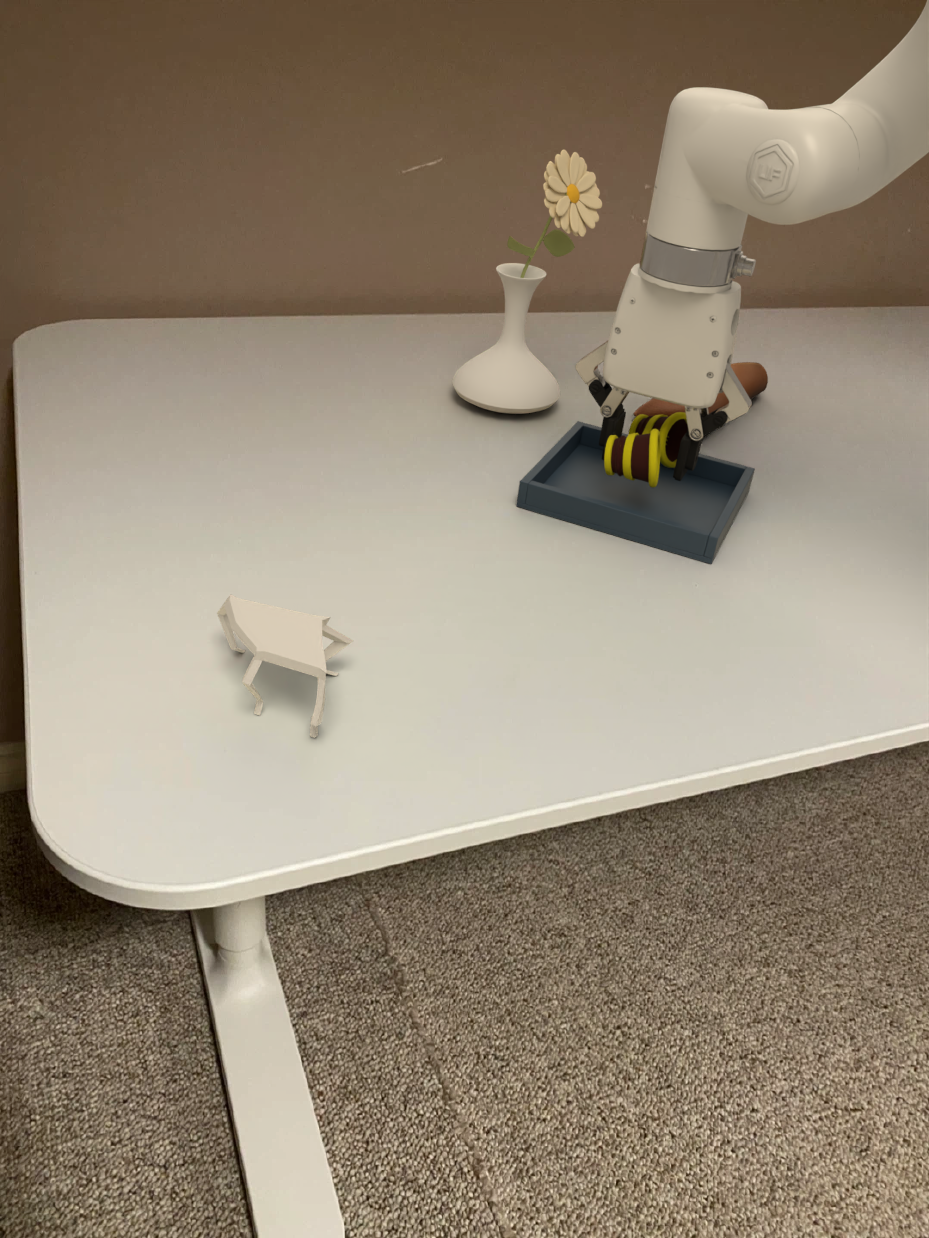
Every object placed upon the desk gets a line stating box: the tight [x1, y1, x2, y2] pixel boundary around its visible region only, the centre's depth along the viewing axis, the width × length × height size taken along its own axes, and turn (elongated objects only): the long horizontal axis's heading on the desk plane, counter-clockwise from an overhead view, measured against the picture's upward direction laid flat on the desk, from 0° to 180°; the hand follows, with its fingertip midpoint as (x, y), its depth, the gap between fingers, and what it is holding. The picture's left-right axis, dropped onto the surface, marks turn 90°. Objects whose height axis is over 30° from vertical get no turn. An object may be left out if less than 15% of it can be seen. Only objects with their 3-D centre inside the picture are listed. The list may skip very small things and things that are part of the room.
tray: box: [515, 420, 756, 565], centre depth 98 cm, size 18×16×2 cm
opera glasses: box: [604, 412, 688, 488], centre depth 96 cm, size 10×5×5 cm, turn 148°
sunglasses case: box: [632, 361, 769, 418], centre depth 117 cm, size 18×7×7 cm
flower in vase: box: [451, 149, 603, 415], centre depth 108 cm, size 13×11×25 cm
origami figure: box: [216, 593, 354, 739], centre depth 70 cm, size 12×8×5 cm
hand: (645, 463), depth 96 cm, fingers closed on opera glasses, 5 cm apart
